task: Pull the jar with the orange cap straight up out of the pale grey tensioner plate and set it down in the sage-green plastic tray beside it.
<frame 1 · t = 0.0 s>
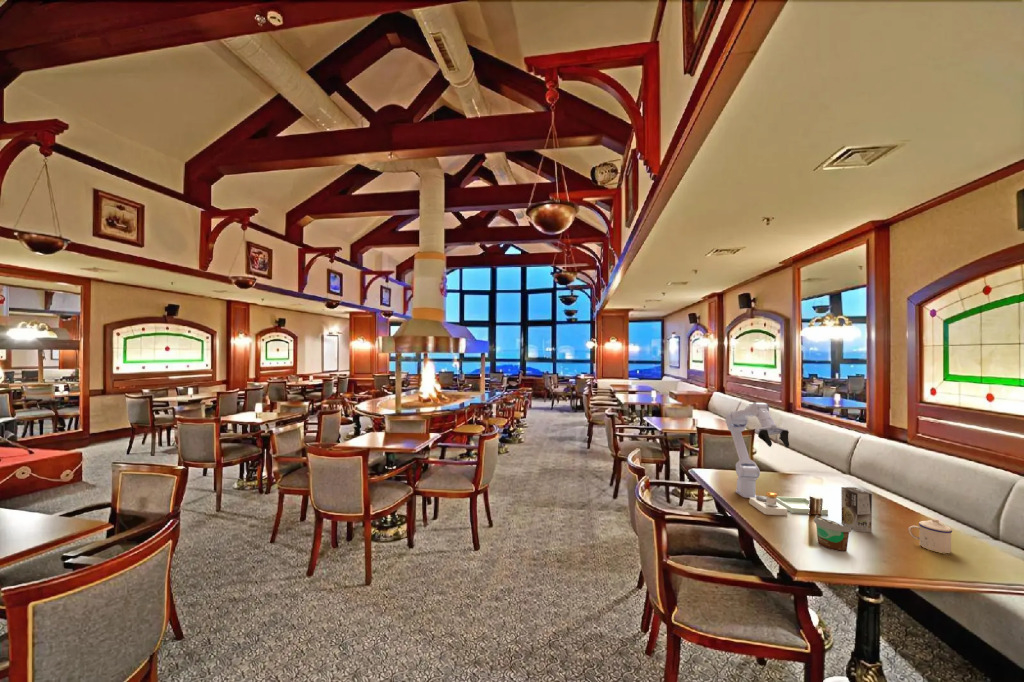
hand: (779, 445, 190), 32 cm above the table, tool tilted 50°, fingers open, 7 cm apart
tray: (799, 507, 201), on the table
tensioner plate: (767, 509, 198), on the table
teacup with lid: (929, 548, 162), on the table
coffee box: (856, 527, 180), on the table
jar: (771, 511, 195), resting in tensioner plate
food container: (828, 547, 160), on the table
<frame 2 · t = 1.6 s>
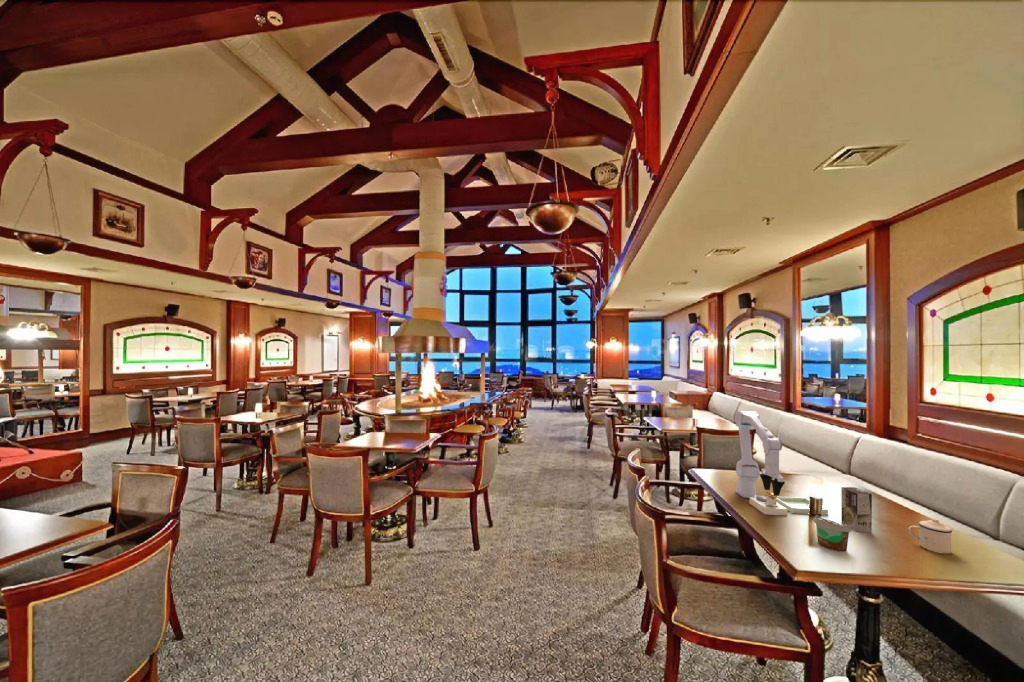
hand: (771, 492, 196), 9 cm above the table, tool pointing down, fingers open, 7 cm apart
nothing on the table moved.
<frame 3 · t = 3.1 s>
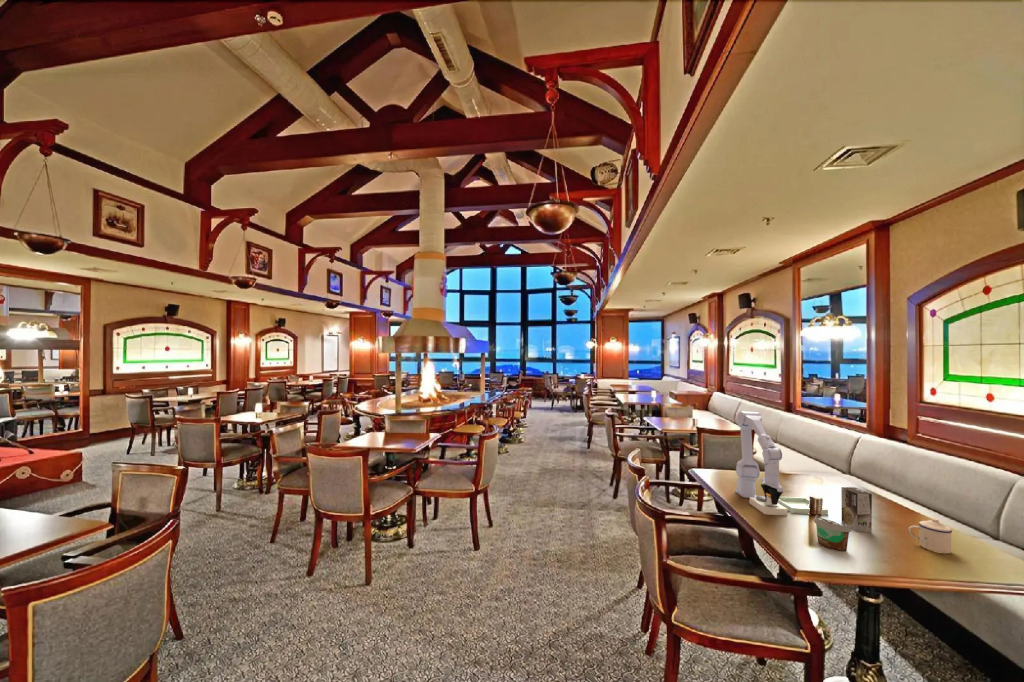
hand: (771, 502, 195), 4 cm above the table, tool pointing down, fingers closed on jar, 4 cm apart
jar: (771, 511, 195), resting in tensioner plate, touching gripper
everything else where it was.
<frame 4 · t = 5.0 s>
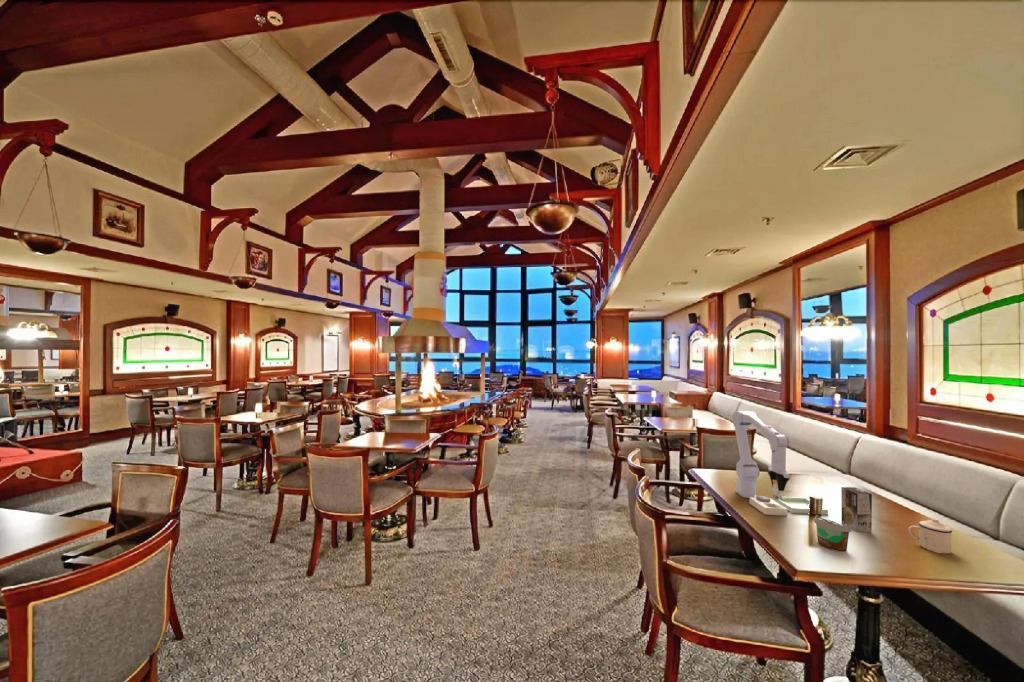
hand: (778, 488, 197), 10 cm above the table, tool pointing down, fingers closed on jar, 4 cm apart
jar: (777, 498, 197), point 6 cm above the table, touching gripper
everything else where it was.
when the fingers open (7 cm above the table, at t = 7.3 s): jar drops 2 cm, resting on tray.
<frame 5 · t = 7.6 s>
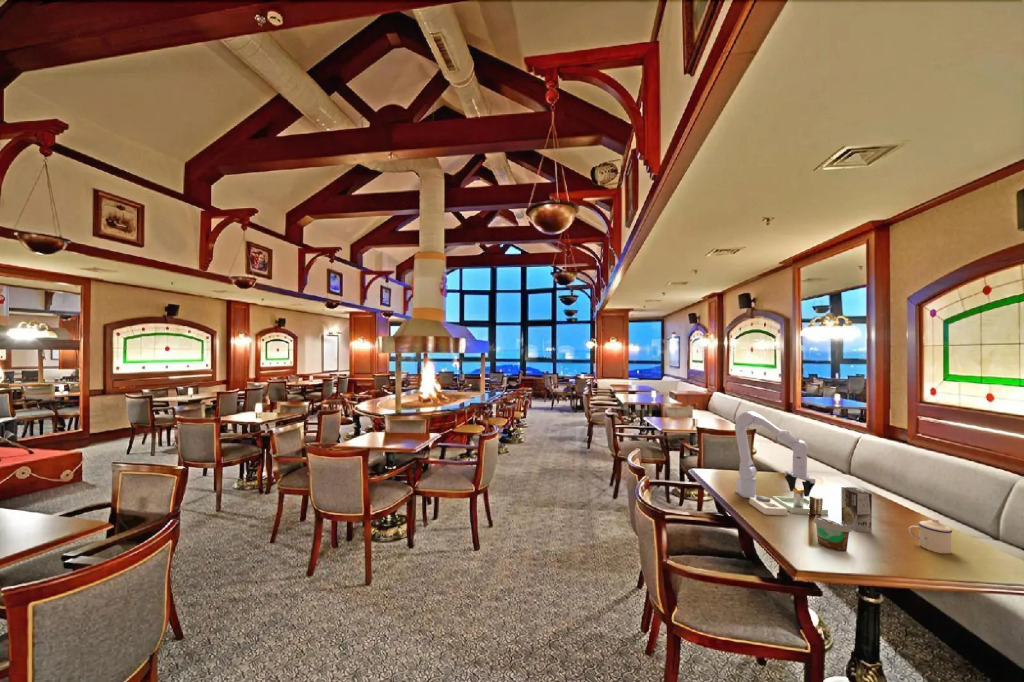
hand: (799, 493, 202), 7 cm above the table, tool pointing down, fingers open, 7 cm apart
jar: (798, 506, 201), point 1 cm above the table, touching tray
everything else where it was.
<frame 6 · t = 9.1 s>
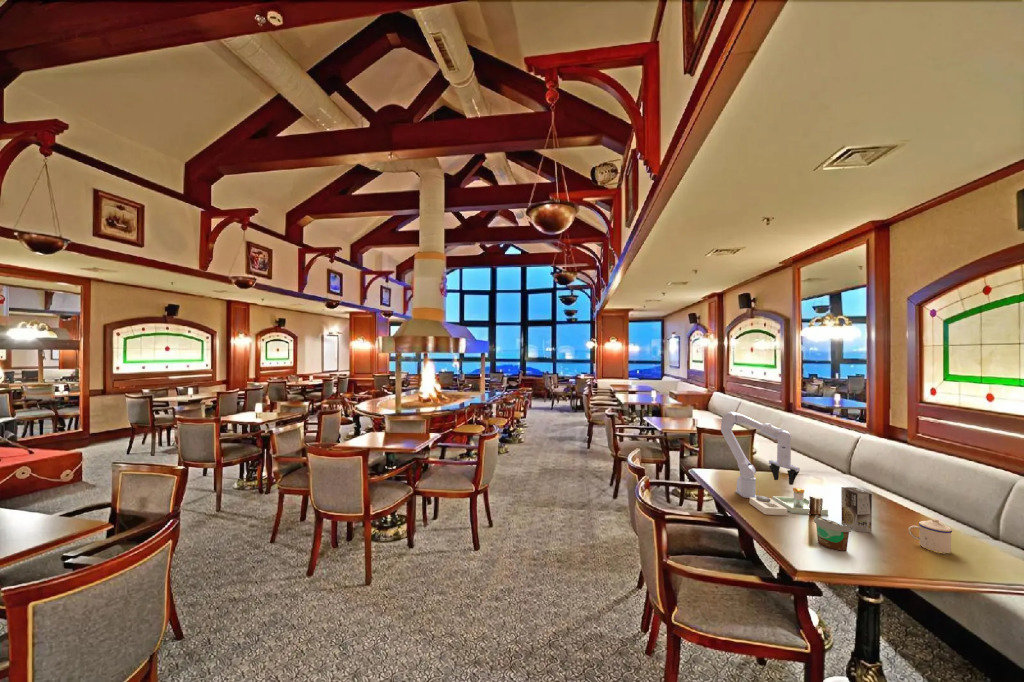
hand: (783, 482, 208), 10 cm above the table, tool pointing down, fingers open, 7 cm apart
nothing on the table moved.
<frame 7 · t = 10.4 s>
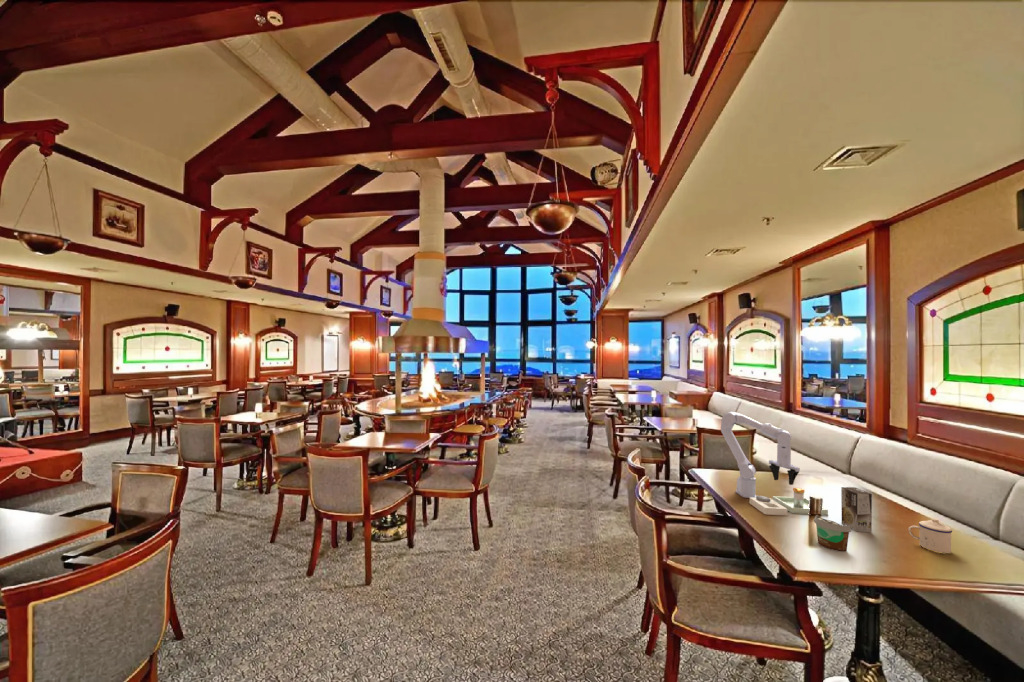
hand: (783, 482, 208), 10 cm above the table, tool pointing down, fingers open, 7 cm apart
nothing on the table moved.
at the end: jar inside the target area on the tray (0.7 cm from its centre), point 0.6 cm above the tray's base; the gripper is holding nothing; jar moved 17.7 cm from its start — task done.
